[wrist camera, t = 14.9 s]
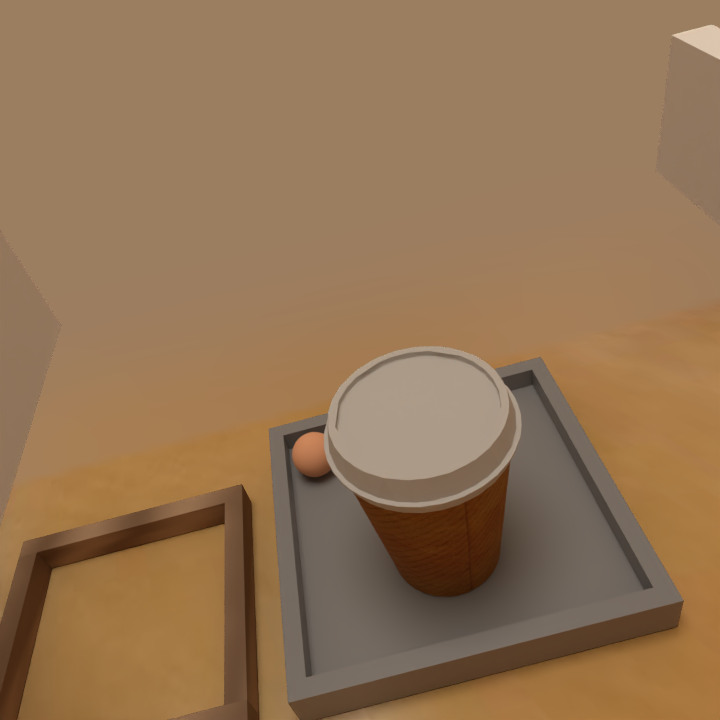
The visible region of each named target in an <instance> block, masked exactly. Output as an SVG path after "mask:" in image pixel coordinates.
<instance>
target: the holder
mask: <svg viewBox="0 0 720 720" xmlns="http://www.w3.org/2000/svg"><path fill="white" fill-rule="evenodd" d="M222 523H225V661H224V705H223V706H219V707H215V708H212V709H208V710H204V711H200V712H196V713H192V714H188V715H185V716H181V717H177V718H173V719H169V720H259V702H258V675H257V648H256V621H255V593H254V566H253V539H252V512H251V501H250V499H249V497H248V495H247V493H246V491H245V489H244V487H243V485H242V484H241V485H237V486H233V487H230V488H226V489H222V490H218V491H214V492H211V493H207V494H203V495H199V496H195V497H192V498H188V499H184V500H180V501H177V502H173V503H169V504H165V505H161V506H158V507H154V508H150V509H146V510H142V511H139V512H135V513H131V514H127V515H123V516H120V517H116V518H112V519H108V520H104V521H101V522H97V523H93V524H89V525H85V526H82V527H78V528H74V529H70V530H66V531H63V532H59V533H55V534H51V535H47V536H44V537H40V538H36V539H32V540H28V541H25V542H23V546H22V549H21V553H20V556H19V560H18V564H17V567H16V571H15V574H14V578H13V581H12V585H11V589H10V592H9V596H8V599H7V603H6V606H5V610H4V613H3V617H2V621H1V624H0V720H17V716H18V712H19V708H20V703H21V699H22V695H23V691H24V686H25V682H26V678H27V673H28V669H29V665H30V660H31V656H32V652H33V648H34V643H35V639H36V635H37V630H38V626H39V622H40V617H41V613H42V609H43V605H44V600H45V596H46V592H47V587H48V583H49V579H50V575H51V570H52V568H55V567H58V566H62V565H66V564H70V563H74V562H78V561H81V560H85V559H89V558H93V557H97V556H100V555H104V554H108V553H112V552H116V551H119V550H123V549H127V548H131V547H135V546H138V545H142V544H146V543H150V542H154V541H157V540H161V539H165V538H169V537H173V536H176V535H180V534H184V533H188V532H192V531H196V530H199V529H203V528H207V527H211V526H215V525H218V524H222Z"/></svg>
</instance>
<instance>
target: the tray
mask: <svg viewBox="0 0 720 720" xmlns="http://www.w3.org/2000/svg"><path fill="white" fill-rule="evenodd" d="M494 370H495V371H496V372H497V373H498V375H499V376H500V377H501V379H502V380H503V382H504V384H505V385H506V386H507V387H508V388H509V389H510V391H511V392H512V394H513V395H514V397H515V399H516V401H517V403H518V406H519V410H520V413H521V424H522V427H521V438H520V440H519V443H518V446H517V449H516V452H515V455H514V456H513V458H512V460H511V461H510V467H509V477H508V485H507V493H506V503H505V514H504V522H503V530H502V538H501V548H500V557H499V560H498V564H497V566H496V568H495V570H494V572H493V573H492V574H491V576H490V577H489V578H488V579H487V580H486V581H485V582H484V583H483V584H481V585H480V586H479V587H477V588H475V589H473V590H471V591H470V592H468V593H464V594H461V595H458V596H450V597H445V596H433V595H429V594H426V593H423V592H421V591H419V590H417V589H415V588H414V587H412V586H411V585H410V584H408V583H407V582H406V581H405V580H404V578H403V577H402V576H401V575H400V573H399V571H398V569H397V568H396V566H395V564H394V562H393V560H392V559H391V557H390V555H389V553H388V552H387V550H386V548H385V546H384V545H383V543H382V541H381V539H380V538H379V536H378V534H377V533H376V531H375V529H374V527H373V526H372V524H371V522H370V520H369V519H368V517H367V515H366V513H365V512H364V510H363V508H362V507H361V505H360V503H359V501H358V500H357V498H356V496H355V495H354V493H353V492H352V491H350V490H349V489H348V488H346V487H345V486H344V485H342V483H341V482H340V481H339V479H338V478H337V477H336V476H335V474H334V473H333V471H332V469H331V470H330V471H329V472H328V473H326V474H325V475H322V476H319V477H309V476H306V475H304V474H302V473H301V472H300V471H298V469H297V468H296V467H295V465H294V463H293V459H292V450H293V447H294V445H295V443H296V441H297V440H298V439H299V438H300V437H301V436H303V435H304V434H307V433H310V432H319V433H323V434H324V432H325V428H326V423H327V420H328V413H327V414H323V415H319V416H316V417H312V418H308V419H304V420H301V421H297V422H293V423H289V424H285V425H282V426H278V427H274V428H270V429H269V438H270V453H271V467H272V481H273V495H274V510H275V524H276V538H277V552H278V566H279V581H280V595H281V609H282V623H283V638H284V652H285V666H286V680H287V694H288V703H289V705H290V706H291V708H292V709H293V711H294V712H295V713H296V715H297V716H298V718H299V719H300V720H317V719H321V718H325V717H329V716H333V715H337V714H341V713H344V712H348V711H352V710H356V709H360V708H364V707H368V706H372V705H375V704H379V703H383V702H387V701H391V700H395V699H399V698H403V697H406V696H410V695H414V694H418V693H422V692H426V691H430V690H434V689H437V688H441V687H445V686H449V685H453V684H457V683H461V682H465V681H468V680H472V679H476V678H480V677H484V676H488V675H492V674H496V673H499V672H503V671H507V670H511V669H515V668H519V667H523V666H527V665H530V664H534V663H538V662H542V661H546V660H550V659H554V658H558V657H562V656H565V655H569V654H573V653H577V652H581V651H585V650H589V649H593V648H596V647H600V646H604V645H608V644H612V643H616V642H620V641H624V640H627V639H631V638H635V637H639V636H643V635H647V634H651V633H655V632H658V631H662V630H666V629H670V628H674V627H677V626H678V622H679V618H680V614H681V610H682V605H683V601H684V600H683V599H682V597H681V595H680V594H679V592H678V590H677V588H676V587H675V585H674V583H673V582H672V580H671V578H670V577H669V575H668V573H667V571H666V570H665V568H664V566H663V565H662V563H661V561H660V559H659V558H658V556H657V554H656V553H655V551H654V549H653V548H652V546H651V544H650V542H649V541H648V539H647V537H646V536H645V534H644V532H643V531H642V529H641V527H640V525H639V524H638V522H637V520H636V519H635V517H634V515H633V513H632V512H631V510H630V508H629V507H628V505H627V503H626V502H625V500H624V498H623V496H622V495H621V493H620V491H619V490H618V488H617V486H616V484H615V483H614V481H613V479H612V478H611V476H610V474H609V473H608V471H607V469H606V467H605V466H604V464H603V462H602V461H601V459H600V457H599V455H598V454H597V452H596V450H595V449H594V447H593V445H592V444H591V442H590V440H589V438H588V437H587V435H586V433H585V432H584V430H583V428H582V427H581V425H580V423H579V421H578V420H577V418H576V416H575V415H574V413H573V411H572V409H571V408H570V406H569V404H568V403H567V401H566V399H565V398H564V396H563V394H562V392H561V391H560V389H559V387H558V386H557V384H556V382H555V380H554V379H553V377H552V375H551V374H550V372H549V370H548V369H547V367H546V365H545V363H544V362H543V360H542V358H541V357H539V358H535V359H531V360H527V361H524V362H520V363H516V364H512V365H508V366H505V367H501V368H497V369H494Z"/></svg>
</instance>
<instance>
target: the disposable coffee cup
mask: <svg viewBox="0 0 720 720" xmlns="http://www.w3.org/2000/svg"><path fill="white" fill-rule="evenodd" d="M521 427H522V424H521V413H520V410H519V406H518V403H517V401H516V399H515V397H514V395H513V394H512V392H511V391H510V389H509V388H508V387H507V386H506V385H505V384H504V382H503V380H502V379H501V377H500V376H499V375H498V373H497V372H496V371H495V370H494V369H493V368H492V367H491V366H490V365H489V364H487V363H486V362H484V361H483V360H481V359H480V358H478V357H476V356H475V355H472V354H469V353H466V352H463V351H460V350H457V349H452V348H447V347H436V346H426V347H413V348H408V349H403V350H397V351H394V352H391V353H389V354H386V355H383V356H381V357H378V358H375V359H374V360H372V361H371V362H369V363H367V364H366V365H364V366H363V367H361V368H359V369H358V370H356V371H355V372H354V373H353V374H352V375H351V376H350V377H349V378H348V379H347V380H346V381H345V382H344V383H343V384H342V385H341V386H340V388H339V389H338V391H337V393H336V394H335V396H334V398H333V399H332V402H331V405H330V408H329V411H328V420H327V423H326V428H325V432H324V450H325V454H326V458H327V461H328V463H329V465H330V467H331V469H332V471H333V473H334V474H335V476H336V477H337V478H338V479H339V481H340V482H341V483H342V485H344V486H345V487H346V488H348V489H349V490H350V491H352V492H353V493H354V495H355V496H356V498H357V500H358V501H359V503H360V505H361V507H362V508H363V510H364V512H365V513H366V515H367V517H368V519H369V520H370V522H371V524H372V526H373V527H374V529H375V531H376V533H377V534H378V536H379V538H380V539H381V541H382V543H383V545H384V546H385V548H386V550H387V552H388V553H389V555H390V557H391V559H392V560H393V562H394V564H395V566H396V568H397V569H398V571H399V573H400V575H401V576H402V577H403V578H404V580H405V581H406V582H407V583H408V584H410V585H411V586H412V587H414V588H415V589H417V590H419V591H421V592H423V593H426V594H429V595H433V596H445V597H450V596H458V595H461V594H464V593H468V592H470V591H471V590H473V589H475V588H477V587H479V586H480V585H481V584H483V583H484V582H485V581H486V580H487V579H488V578H489V577H490V576H491V574H492V573H493V572H494V570H495V568H496V566H497V564H498V560H499V557H500V548H501V538H502V530H503V522H504V514H505V503H506V493H507V485H508V477H509V467H510V461H511V460H512V458H513V456H514V455H515V452H516V449H517V446H518V443H519V440H520V438H521Z"/></svg>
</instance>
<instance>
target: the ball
mask: <svg viewBox="0 0 720 720" xmlns="http://www.w3.org/2000/svg"><path fill="white" fill-rule="evenodd" d="M292 459H293V463H294V465H295V467H296V468H297V469H298V471H300V472H301V473H302V474H304V475H306V476H309V477H319V476H322V475H325V474H326V473H328V472H329V471H330V470H331V467H330V465H329V463H328V461H327V458H326V454H325V450H324V434H323V433H319V432H310V433H307V434H304V435H303V436H301V437H300V438H299V439H298V440H297V441H296V443H295V445H294V447H293V450H292Z"/></svg>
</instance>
